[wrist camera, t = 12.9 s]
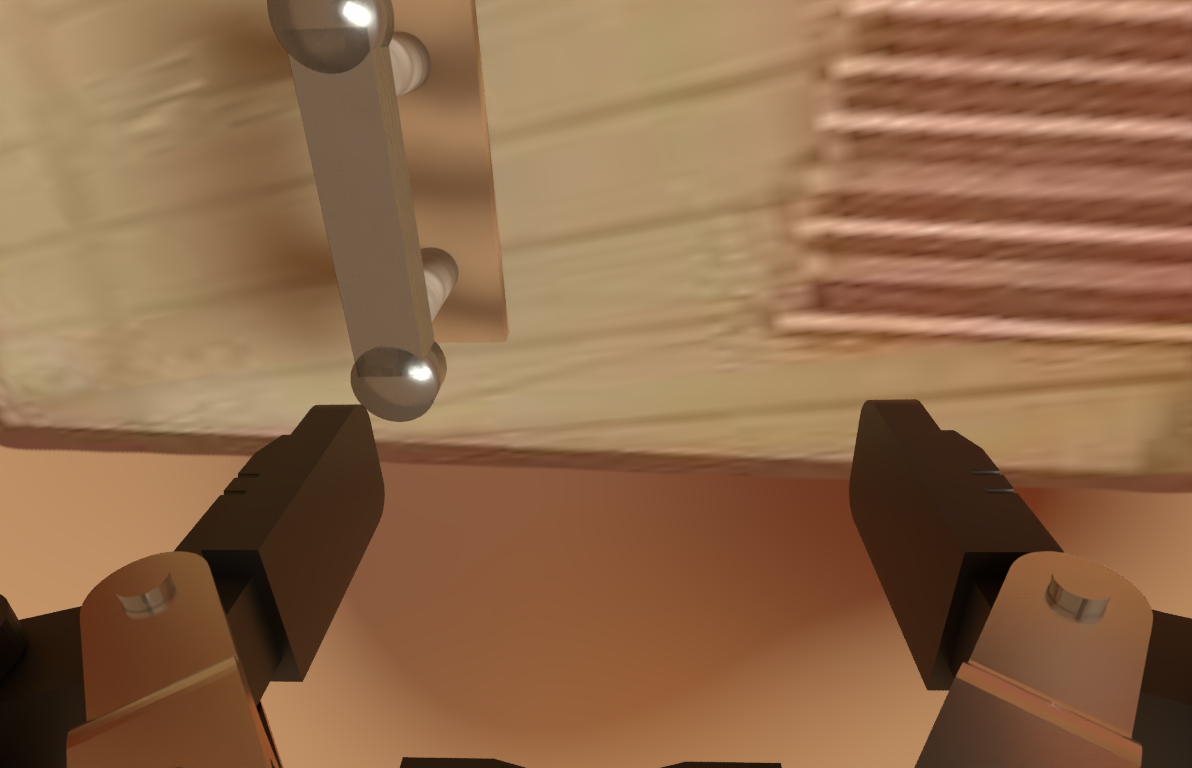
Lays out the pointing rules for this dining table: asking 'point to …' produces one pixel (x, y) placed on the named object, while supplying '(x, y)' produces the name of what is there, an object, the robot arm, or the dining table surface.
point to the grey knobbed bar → (365, 196)
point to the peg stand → (450, 166)
